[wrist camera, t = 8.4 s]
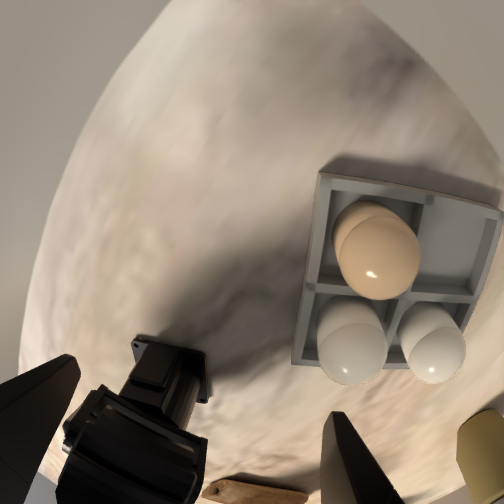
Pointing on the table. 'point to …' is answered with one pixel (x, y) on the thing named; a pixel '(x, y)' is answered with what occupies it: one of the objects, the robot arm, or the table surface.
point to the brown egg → (375, 250)
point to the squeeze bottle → (483, 457)
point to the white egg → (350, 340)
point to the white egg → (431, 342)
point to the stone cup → (251, 494)
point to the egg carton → (431, 267)
